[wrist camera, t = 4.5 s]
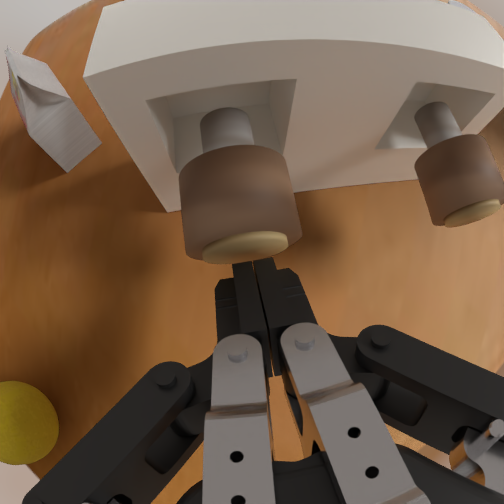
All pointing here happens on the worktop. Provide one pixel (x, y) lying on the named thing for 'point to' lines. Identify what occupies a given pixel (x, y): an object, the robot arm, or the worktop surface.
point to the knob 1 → (236, 195)
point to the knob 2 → (455, 170)
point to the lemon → (25, 423)
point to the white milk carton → (49, 111)
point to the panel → (292, 81)
